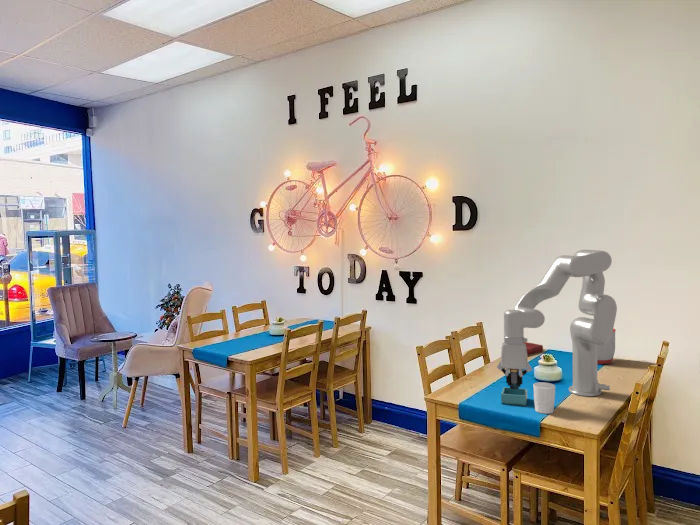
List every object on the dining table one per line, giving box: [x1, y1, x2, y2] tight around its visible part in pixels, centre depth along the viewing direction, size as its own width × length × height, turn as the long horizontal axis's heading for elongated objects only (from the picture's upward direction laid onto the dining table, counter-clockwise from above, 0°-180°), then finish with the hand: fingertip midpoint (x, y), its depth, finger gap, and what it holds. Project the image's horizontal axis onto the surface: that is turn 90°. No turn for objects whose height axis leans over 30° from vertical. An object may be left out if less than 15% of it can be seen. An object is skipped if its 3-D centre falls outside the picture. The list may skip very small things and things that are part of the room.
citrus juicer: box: [596, 328, 616, 365], centre depth 267 cm, size 16×17×20 cm
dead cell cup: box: [500, 386, 528, 407], centre depth 213 cm, size 9×9×4 cm
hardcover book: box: [500, 341, 544, 356], centre depth 292 cm, size 12×21×4 cm, turn 125°
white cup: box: [532, 381, 556, 415], centre depth 201 cm, size 8×8×10 cm
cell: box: [509, 369, 520, 389], centre depth 212 cm, size 4×4×9 cm
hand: (514, 384), depth 213 cm, fingers closed on cell, 3 cm apart
